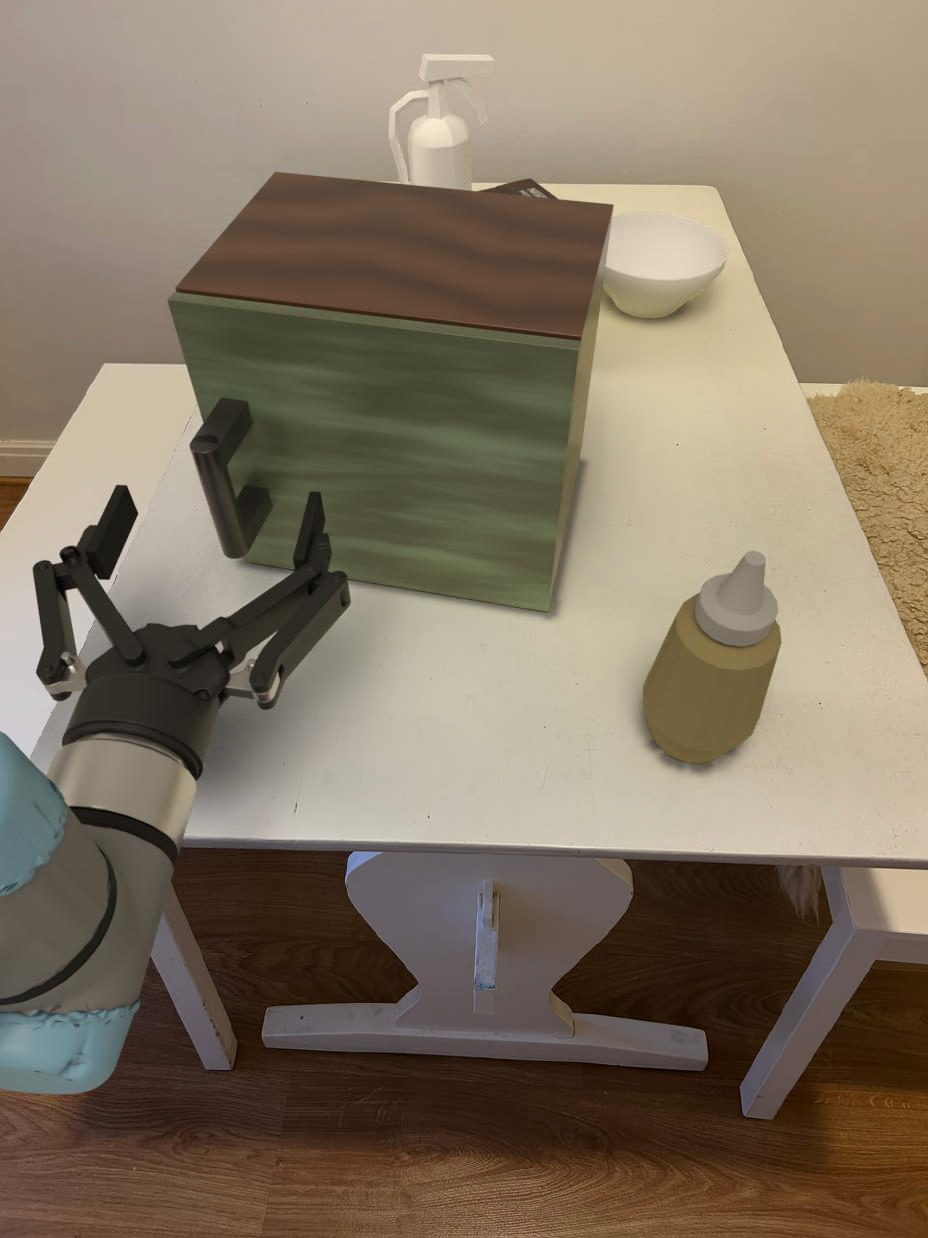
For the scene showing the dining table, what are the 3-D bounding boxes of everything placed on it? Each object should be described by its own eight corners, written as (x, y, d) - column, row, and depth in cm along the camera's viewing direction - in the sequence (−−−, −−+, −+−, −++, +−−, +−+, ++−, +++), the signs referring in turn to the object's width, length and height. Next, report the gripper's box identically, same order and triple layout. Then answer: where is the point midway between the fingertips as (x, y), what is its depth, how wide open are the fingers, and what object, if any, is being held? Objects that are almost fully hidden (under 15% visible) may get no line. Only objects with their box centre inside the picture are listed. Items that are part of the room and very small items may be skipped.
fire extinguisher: (383, 292, 100) (364, 50, 81) (481, 280, 102) (484, 40, 83) (393, 322, 96) (376, 74, 77) (495, 308, 98) (502, 63, 79)
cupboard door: (536, 670, 64) (564, 409, 46) (215, 613, 68) (121, 351, 50) (550, 603, 69) (581, 340, 50) (248, 553, 72) (173, 291, 54)
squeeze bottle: (737, 793, 58) (822, 629, 44) (622, 758, 60) (670, 589, 46) (753, 702, 63) (835, 528, 49) (646, 672, 64) (696, 496, 51)
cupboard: (550, 602, 69) (582, 335, 50) (249, 552, 73) (174, 287, 54) (579, 463, 80) (613, 203, 61) (317, 426, 84) (274, 171, 65)
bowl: (693, 352, 92) (707, 292, 87) (558, 319, 97) (563, 260, 91) (729, 285, 101) (744, 227, 96) (604, 257, 106) (611, 200, 100)
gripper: (-61, 789, 49) (68, 534, 62) (364, 809, 48) (401, 546, 62) (-131, 719, 43) (28, 454, 57) (350, 740, 42) (394, 467, 56)
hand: (222, 502), depth 59 cm, fingers open, 13 cm apart
